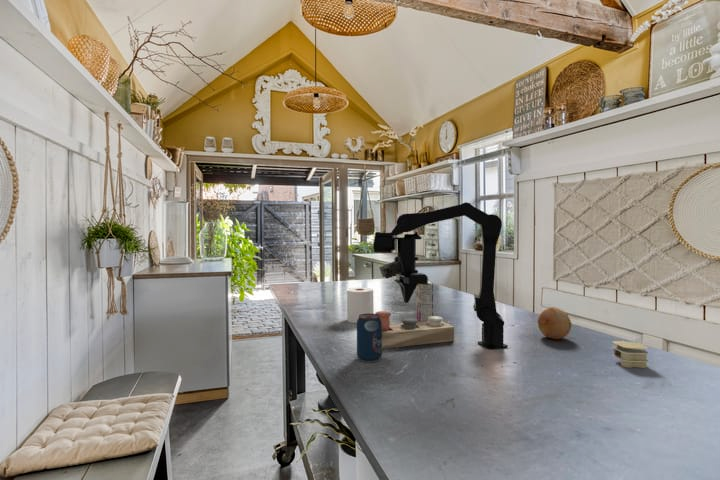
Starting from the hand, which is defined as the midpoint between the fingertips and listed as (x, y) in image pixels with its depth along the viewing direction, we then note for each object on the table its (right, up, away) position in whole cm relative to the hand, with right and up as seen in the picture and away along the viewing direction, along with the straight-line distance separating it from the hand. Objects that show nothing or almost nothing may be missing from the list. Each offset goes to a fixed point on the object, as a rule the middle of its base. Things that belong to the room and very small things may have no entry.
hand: (406, 302), depth 124 cm
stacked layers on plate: (+56, -13, -22) cm, 61 cm away
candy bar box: (+9, -12, +19) cm, 24 cm away
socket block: (+1, -12, +1) cm, 12 cm away
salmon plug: (-8, -9, -2) cm, 12 cm away
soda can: (-12, -13, -16) cm, 24 cm away
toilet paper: (-15, -12, +27) cm, 33 cm away
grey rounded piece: (+1, -12, +1) cm, 12 cm away
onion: (+47, -12, +1) cm, 49 cm away
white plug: (+10, -12, +3) cm, 15 cm away
